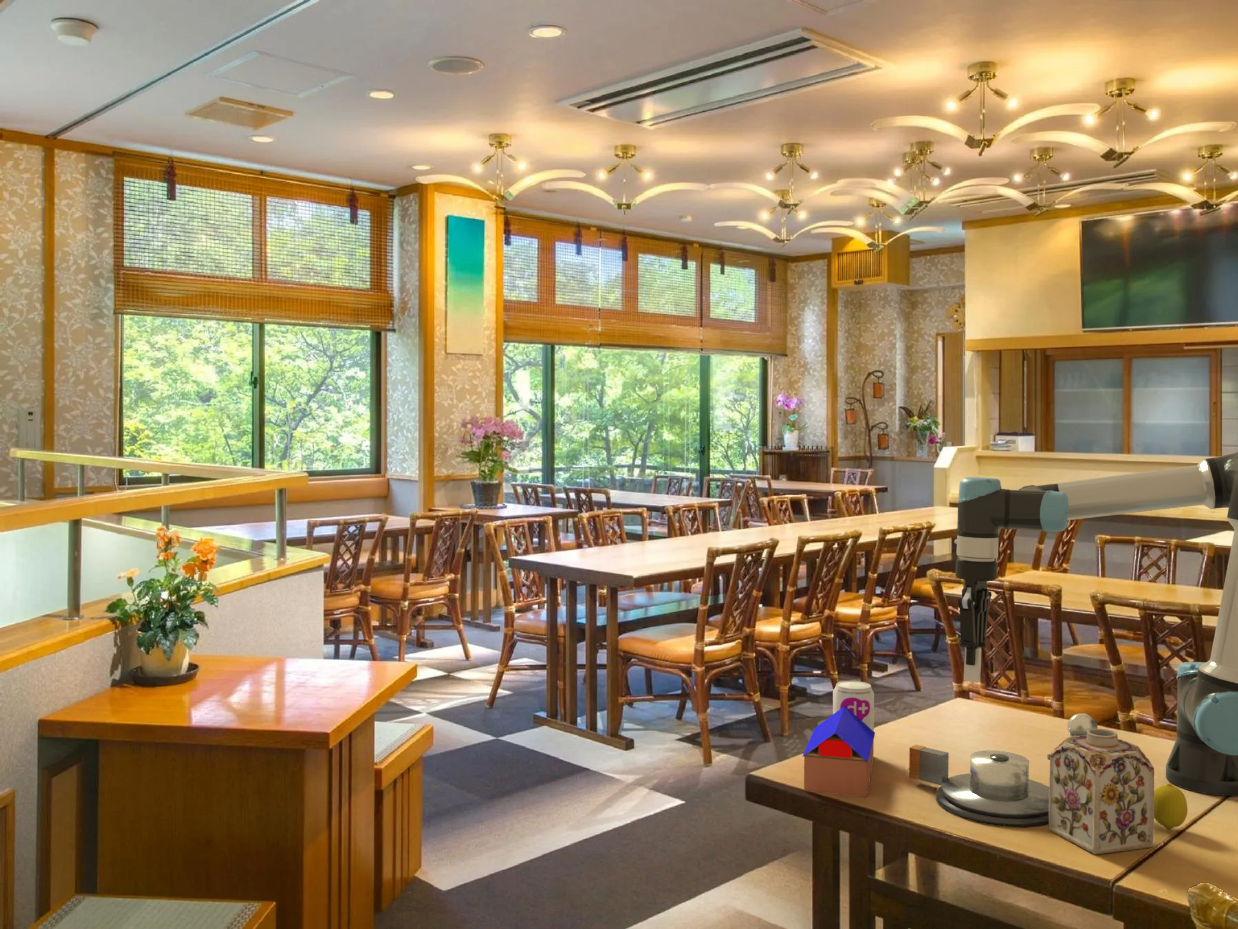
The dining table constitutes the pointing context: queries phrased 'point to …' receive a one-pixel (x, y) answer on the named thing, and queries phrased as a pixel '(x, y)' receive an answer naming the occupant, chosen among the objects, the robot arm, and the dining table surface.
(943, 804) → the turntable base
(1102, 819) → the decorative jar
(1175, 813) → the lemon
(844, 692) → the supplement can
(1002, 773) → the cover
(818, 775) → the house
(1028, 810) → the turntable
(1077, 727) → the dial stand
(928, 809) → the dining table surface
